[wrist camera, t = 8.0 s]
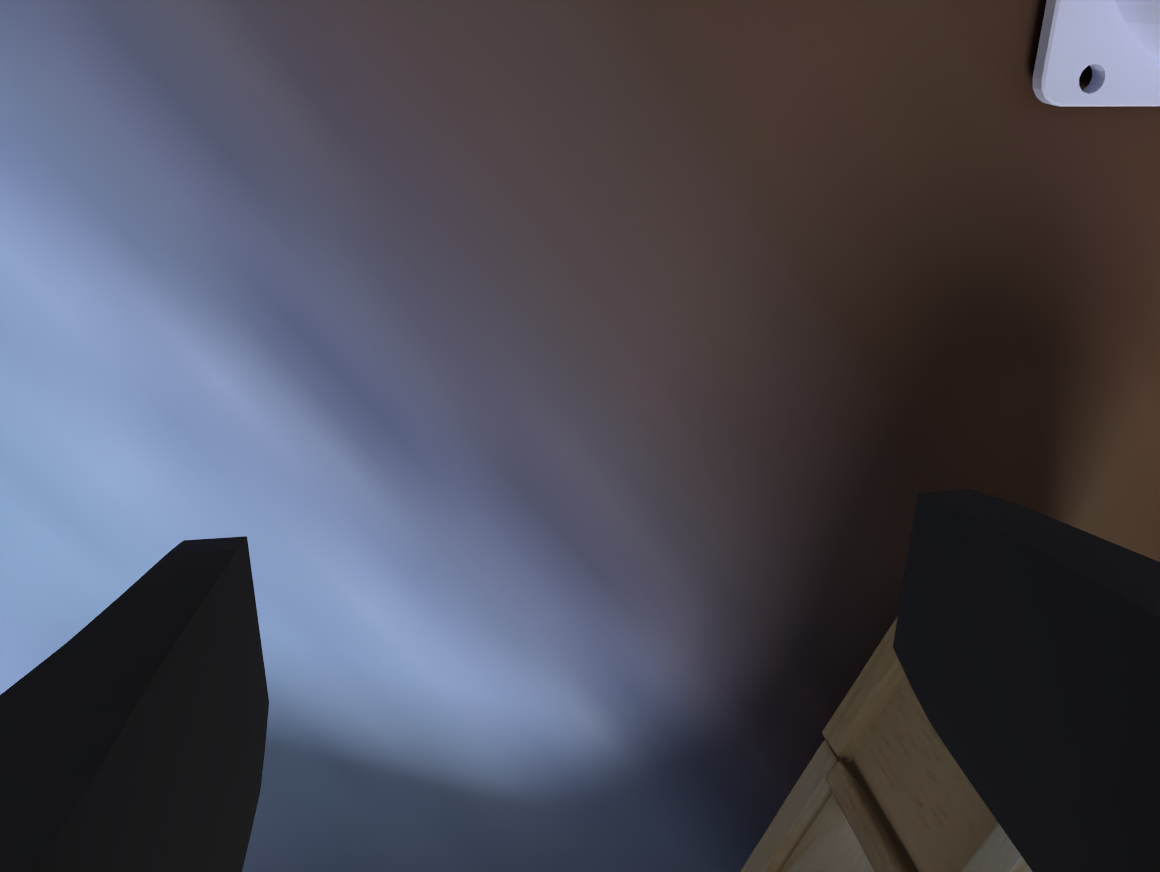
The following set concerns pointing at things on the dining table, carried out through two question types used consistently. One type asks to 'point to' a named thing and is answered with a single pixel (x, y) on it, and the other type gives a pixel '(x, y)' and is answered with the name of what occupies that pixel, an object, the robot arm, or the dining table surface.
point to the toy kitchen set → (883, 793)
